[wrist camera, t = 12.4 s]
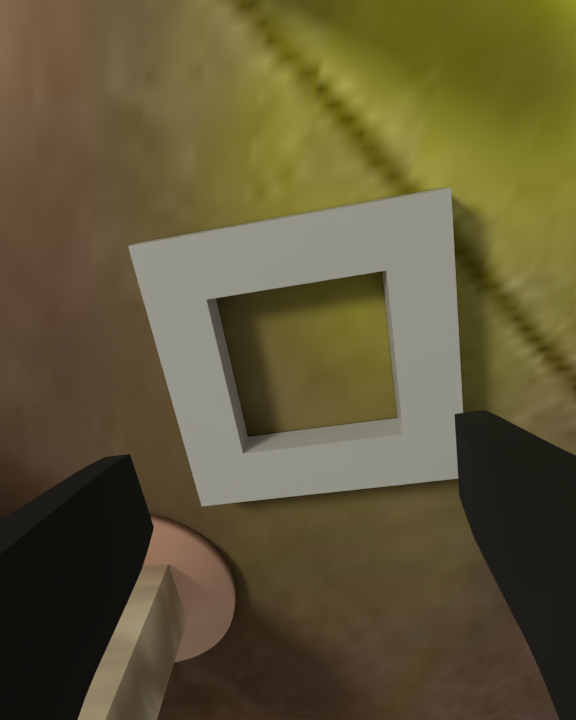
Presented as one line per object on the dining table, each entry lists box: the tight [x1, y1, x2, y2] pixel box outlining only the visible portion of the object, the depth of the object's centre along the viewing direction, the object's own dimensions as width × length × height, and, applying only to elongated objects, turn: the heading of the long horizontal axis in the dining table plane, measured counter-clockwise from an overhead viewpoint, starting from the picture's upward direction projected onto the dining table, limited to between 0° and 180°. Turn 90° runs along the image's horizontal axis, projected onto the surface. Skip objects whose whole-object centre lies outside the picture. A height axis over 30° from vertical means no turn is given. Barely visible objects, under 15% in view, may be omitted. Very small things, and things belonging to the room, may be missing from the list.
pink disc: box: [143, 515, 236, 662], centre depth 25 cm, size 10×10×1 cm
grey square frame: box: [128, 188, 463, 506], centre depth 20 cm, size 12×12×2 cm
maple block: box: [78, 564, 187, 720], centre depth 21 cm, size 4×4×8 cm
